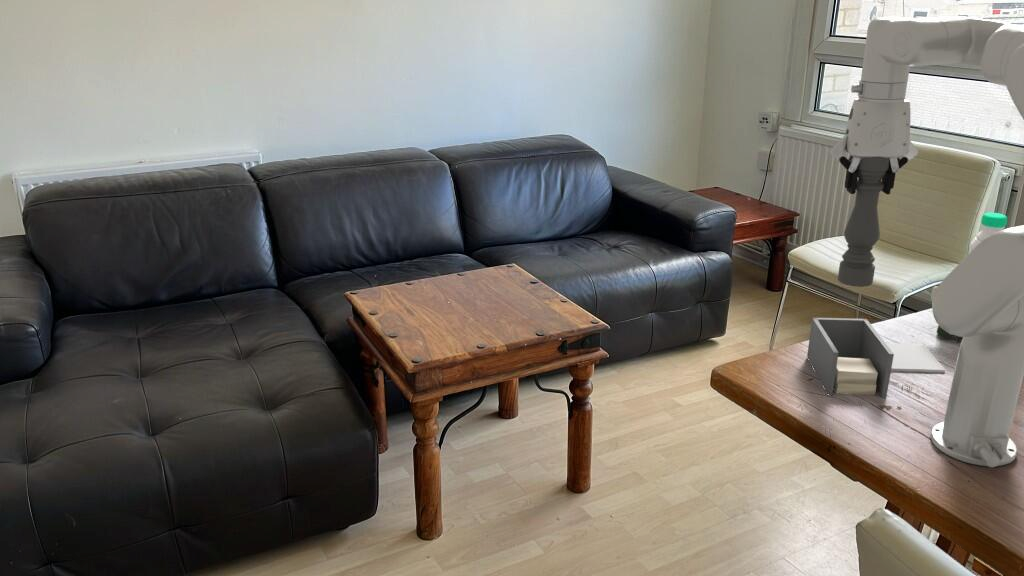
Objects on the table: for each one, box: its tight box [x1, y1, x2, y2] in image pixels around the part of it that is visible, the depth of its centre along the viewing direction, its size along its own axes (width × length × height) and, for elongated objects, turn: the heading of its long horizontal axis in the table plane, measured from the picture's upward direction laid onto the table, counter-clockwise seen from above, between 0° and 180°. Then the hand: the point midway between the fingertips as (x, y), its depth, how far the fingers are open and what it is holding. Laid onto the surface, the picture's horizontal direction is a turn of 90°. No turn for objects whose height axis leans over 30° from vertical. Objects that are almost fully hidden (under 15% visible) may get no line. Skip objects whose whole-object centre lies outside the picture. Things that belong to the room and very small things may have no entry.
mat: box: [885, 342, 946, 374], centre depth 166 cm, size 12×12×1 cm
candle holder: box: [837, 157, 890, 288], centre depth 151 cm, size 6×6×25 cm
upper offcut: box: [835, 357, 878, 385], centre depth 155 cm, size 6×7×2 cm
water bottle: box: [969, 212, 1008, 253], centre depth 179 cm, size 7×7×25 cm
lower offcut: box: [833, 380, 877, 396], centre depth 156 cm, size 6×7×2 cm
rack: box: [806, 317, 894, 398], centre depth 158 cm, size 16×11×9 cm, turn 175°
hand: (868, 191), depth 149 cm, fingers closed on candle holder, 5 cm apart
